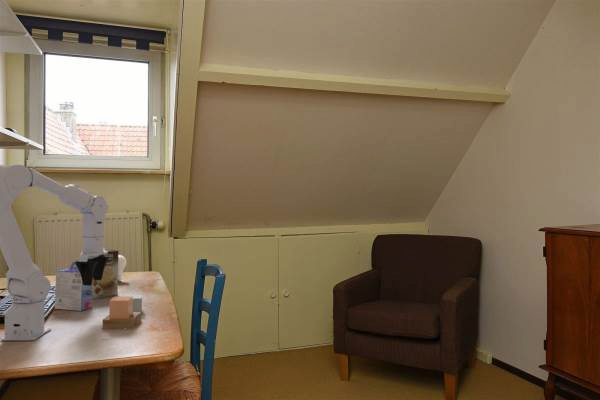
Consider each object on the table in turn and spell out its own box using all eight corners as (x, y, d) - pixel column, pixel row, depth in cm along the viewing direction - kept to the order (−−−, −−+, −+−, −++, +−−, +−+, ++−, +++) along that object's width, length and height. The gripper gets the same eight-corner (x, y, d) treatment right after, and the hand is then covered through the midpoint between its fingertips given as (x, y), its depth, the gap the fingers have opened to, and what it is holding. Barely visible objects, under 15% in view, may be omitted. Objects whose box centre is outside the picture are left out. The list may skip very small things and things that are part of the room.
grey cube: (141, 314, 141) (141, 298, 141) (123, 315, 140) (124, 299, 140) (141, 310, 146) (141, 294, 146) (124, 311, 144) (125, 295, 144)
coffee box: (93, 299, 159) (93, 252, 159) (84, 296, 163) (85, 251, 163) (118, 294, 166) (118, 250, 166) (109, 292, 170) (109, 248, 170)
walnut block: (132, 330, 126) (132, 319, 126) (102, 330, 126) (102, 319, 126) (140, 322, 134) (140, 312, 134) (112, 322, 134) (112, 312, 134)
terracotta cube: (128, 318, 127) (128, 300, 127) (109, 318, 127) (109, 300, 127) (132, 313, 132) (132, 296, 132) (114, 314, 132) (114, 296, 132)
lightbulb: (110, 280, 193) (110, 254, 193) (126, 279, 195) (126, 253, 194) (109, 283, 187) (109, 256, 187) (125, 282, 189) (126, 255, 188)
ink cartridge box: (93, 307, 149) (93, 262, 148) (81, 311, 143) (82, 265, 143) (66, 305, 150) (66, 260, 150) (54, 309, 145) (54, 263, 145)
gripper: (97, 239, 129) (97, 287, 129) (115, 234, 143) (115, 278, 144) (71, 239, 129) (71, 287, 129) (92, 234, 143) (91, 277, 143)
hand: (92, 282), depth 136 cm, fingers open, 7 cm apart
